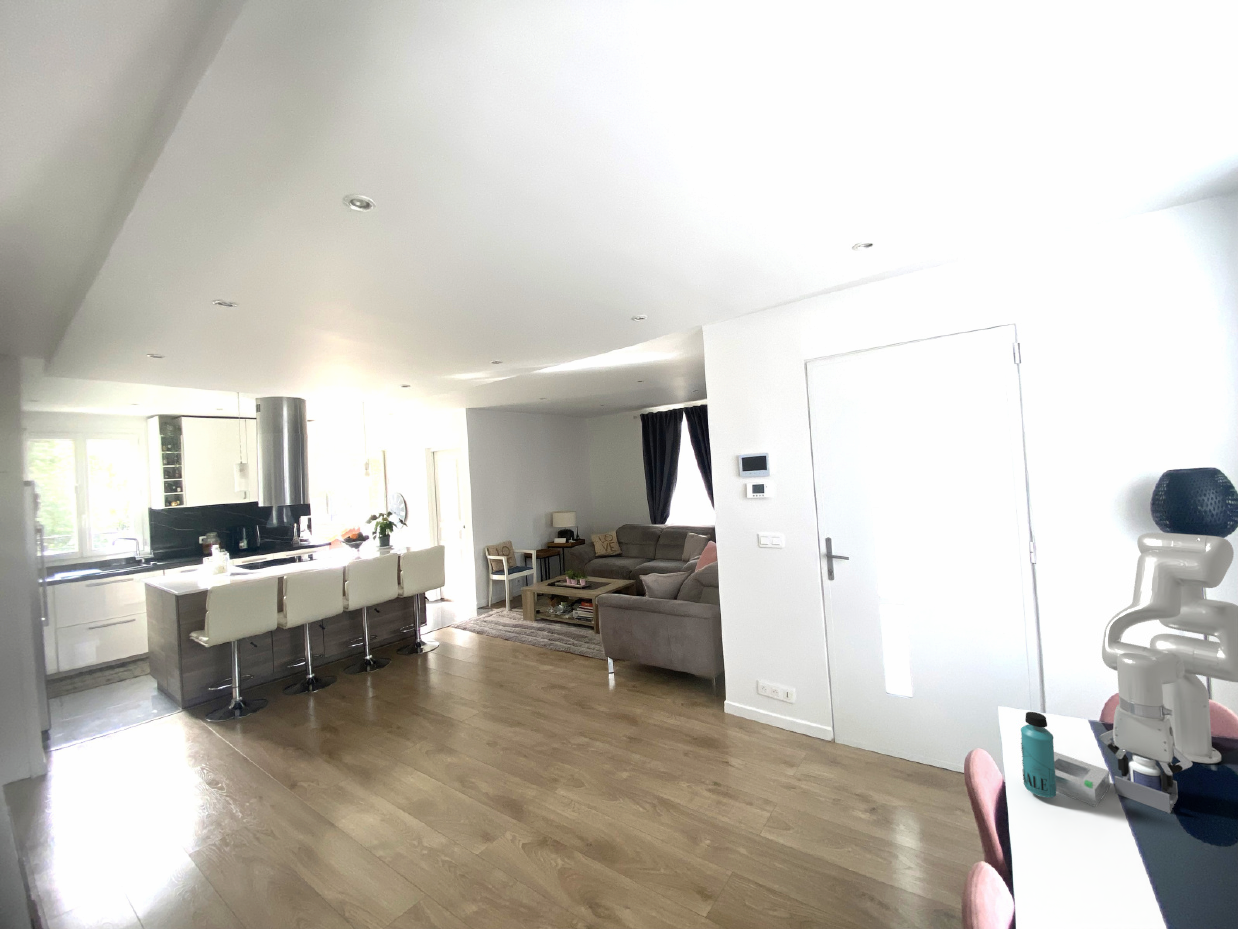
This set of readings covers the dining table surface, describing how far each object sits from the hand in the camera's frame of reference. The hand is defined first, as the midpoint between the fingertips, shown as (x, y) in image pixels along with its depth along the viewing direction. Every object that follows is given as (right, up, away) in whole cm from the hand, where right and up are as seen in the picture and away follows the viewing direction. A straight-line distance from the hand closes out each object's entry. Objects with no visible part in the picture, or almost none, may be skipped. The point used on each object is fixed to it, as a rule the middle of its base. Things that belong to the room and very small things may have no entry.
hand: (1145, 780), depth 122 cm
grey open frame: (0, -4, 0) cm, 4 cm away
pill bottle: (0, -4, 0) cm, 4 cm away
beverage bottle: (-24, -5, +2) cm, 25 cm away
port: (-13, -4, +6) cm, 15 cm away
